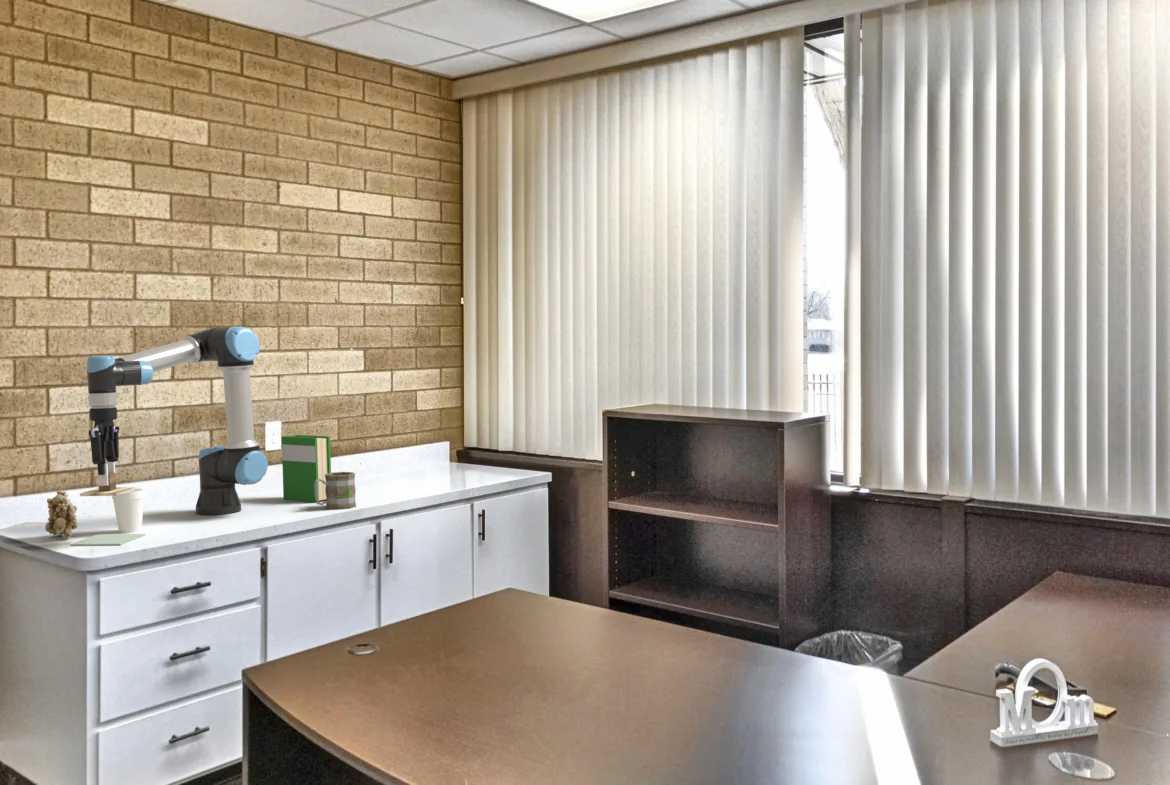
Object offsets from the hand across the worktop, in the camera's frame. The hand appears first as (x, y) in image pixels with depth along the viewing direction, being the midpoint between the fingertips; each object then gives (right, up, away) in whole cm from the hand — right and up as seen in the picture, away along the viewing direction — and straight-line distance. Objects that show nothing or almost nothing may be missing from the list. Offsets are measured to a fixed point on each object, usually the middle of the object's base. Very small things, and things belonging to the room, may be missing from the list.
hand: (107, 484), depth 297 cm
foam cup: (0, -16, +16) cm, 23 cm away
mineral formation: (-16, -17, +6) cm, 25 cm away
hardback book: (+40, -13, +73) cm, 84 cm away
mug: (+55, -14, +53) cm, 78 cm away
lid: (0, -3, 0) cm, 3 cm away
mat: (0, -17, +1) cm, 17 cm away
